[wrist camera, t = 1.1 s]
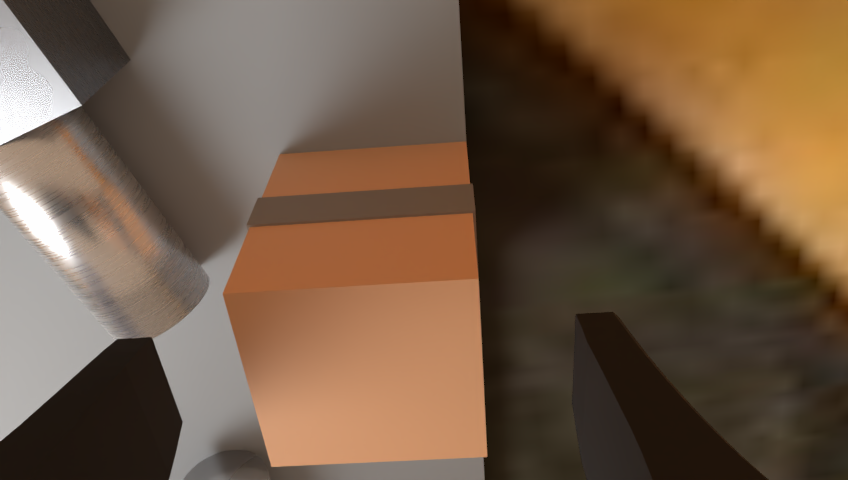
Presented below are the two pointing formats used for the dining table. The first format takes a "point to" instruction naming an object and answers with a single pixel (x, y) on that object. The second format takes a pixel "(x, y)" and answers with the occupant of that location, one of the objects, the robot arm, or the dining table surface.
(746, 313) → the dining table surface
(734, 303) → the dining table surface
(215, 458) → the input shaft
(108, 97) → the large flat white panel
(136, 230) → the output shaft
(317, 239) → the taped shipping carton
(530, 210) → the dining table surface
